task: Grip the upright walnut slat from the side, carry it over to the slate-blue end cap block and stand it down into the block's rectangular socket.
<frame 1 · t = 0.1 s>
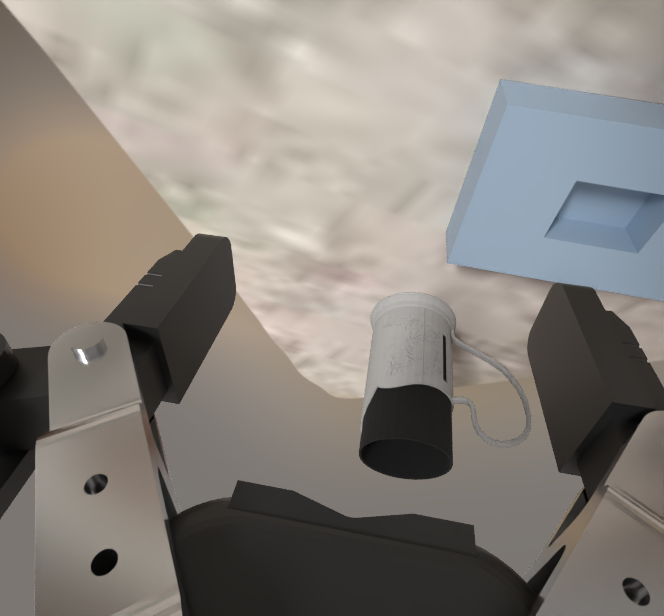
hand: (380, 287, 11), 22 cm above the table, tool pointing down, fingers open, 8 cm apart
end cap: (593, 187, 31), on the table
white travel mug: (438, 318, 44), on the table
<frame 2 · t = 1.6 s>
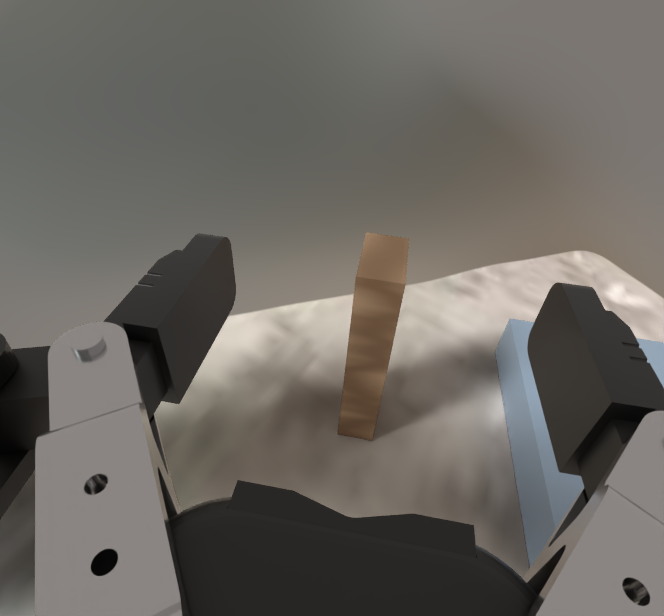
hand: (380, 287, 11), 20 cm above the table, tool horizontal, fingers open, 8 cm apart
end cap: (594, 455, 30), on the table
slat: (358, 411, 32), on the table
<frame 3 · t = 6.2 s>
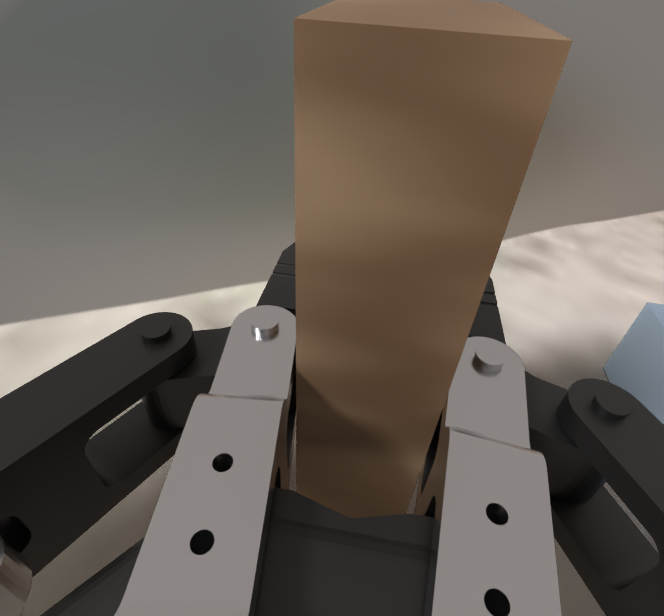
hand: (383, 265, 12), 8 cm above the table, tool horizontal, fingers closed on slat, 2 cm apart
slat: (347, 507, 14), on the table, touching gripper
when the fingers open (10 cm above the table, at t = 11.4 s): slat drops 1 cm, resting on end cap.
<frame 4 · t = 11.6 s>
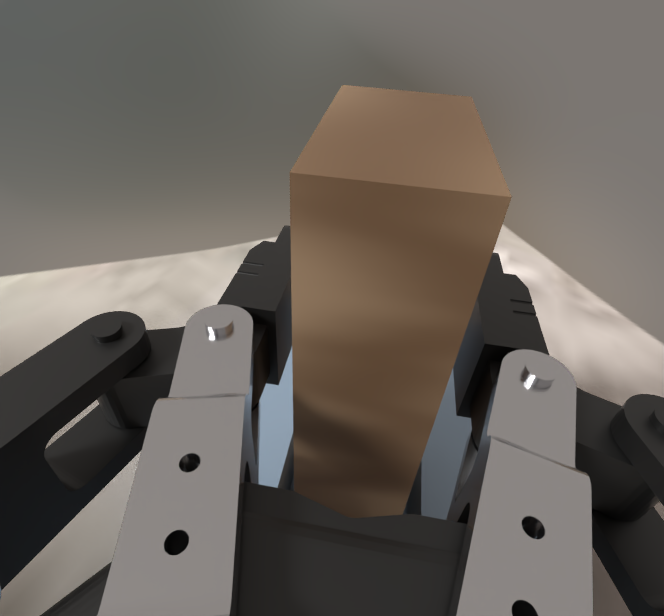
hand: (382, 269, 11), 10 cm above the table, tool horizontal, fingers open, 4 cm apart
end cap: (342, 538, 16), on the table
slat: (342, 526, 15), point 1 cm above the table, touching end cap
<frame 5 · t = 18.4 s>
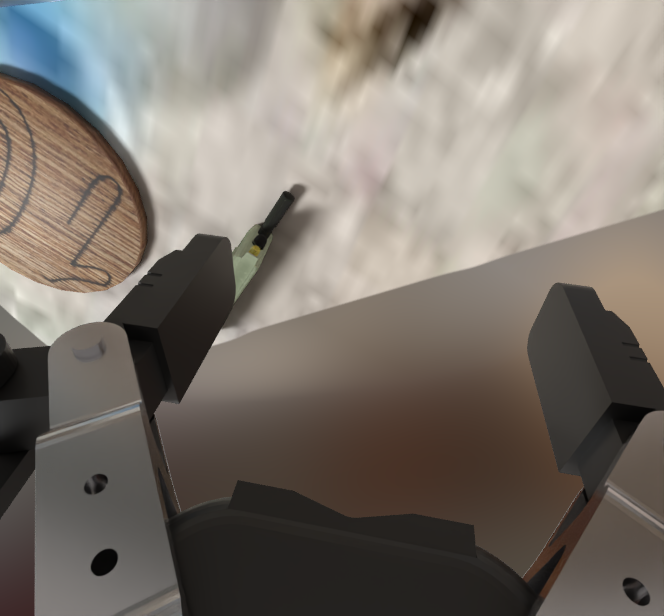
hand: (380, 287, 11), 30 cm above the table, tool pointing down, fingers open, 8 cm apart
trivet: (43, 193, 48), on the table
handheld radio: (240, 267, 50), on the table
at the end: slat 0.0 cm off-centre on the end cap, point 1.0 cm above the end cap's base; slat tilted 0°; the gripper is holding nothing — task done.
